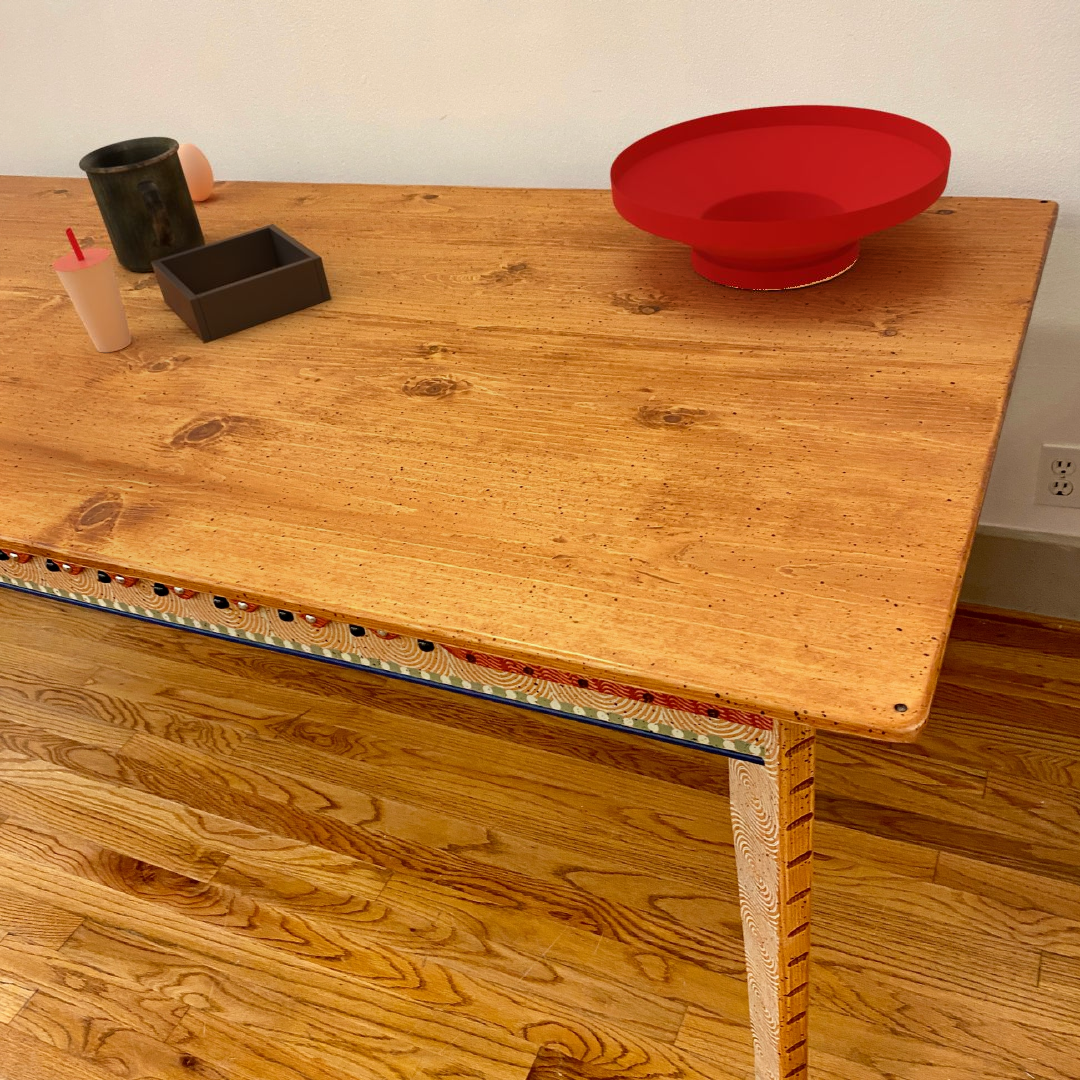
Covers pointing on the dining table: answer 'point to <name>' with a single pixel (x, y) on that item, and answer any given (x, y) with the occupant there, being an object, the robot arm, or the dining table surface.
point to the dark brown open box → (241, 281)
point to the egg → (196, 171)
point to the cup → (95, 294)
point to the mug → (143, 200)
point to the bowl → (779, 188)
